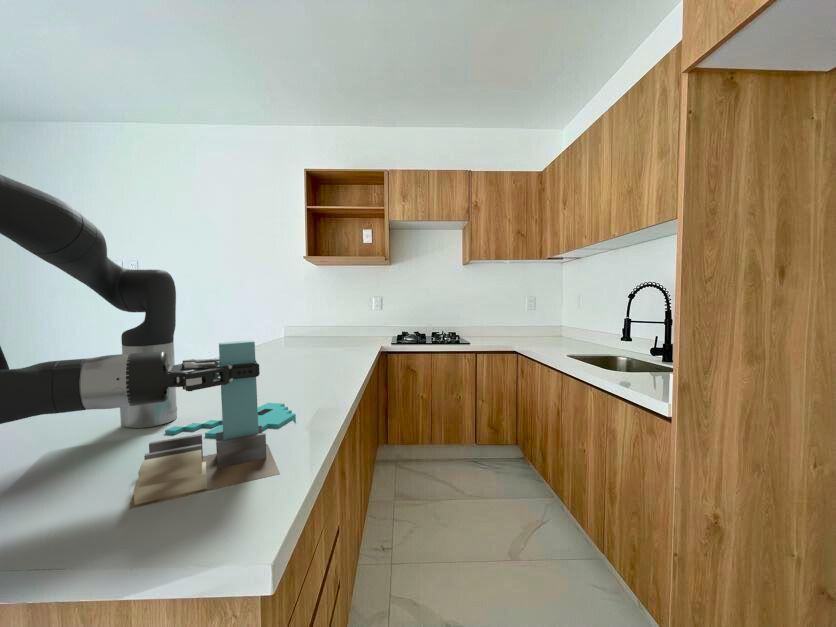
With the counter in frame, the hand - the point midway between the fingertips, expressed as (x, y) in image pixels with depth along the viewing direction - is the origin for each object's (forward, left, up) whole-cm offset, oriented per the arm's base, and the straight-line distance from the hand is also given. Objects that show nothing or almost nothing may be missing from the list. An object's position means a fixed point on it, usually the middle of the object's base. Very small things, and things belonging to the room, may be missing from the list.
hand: (257, 367), depth 63 cm
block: (-3, -1, -14) cm, 14 cm away
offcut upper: (-9, -10, -12) cm, 18 cm away
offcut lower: (-9, -10, -14) cm, 20 cm away
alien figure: (-7, +19, -16) cm, 26 cm away
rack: (-6, -5, -15) cm, 17 cm away
